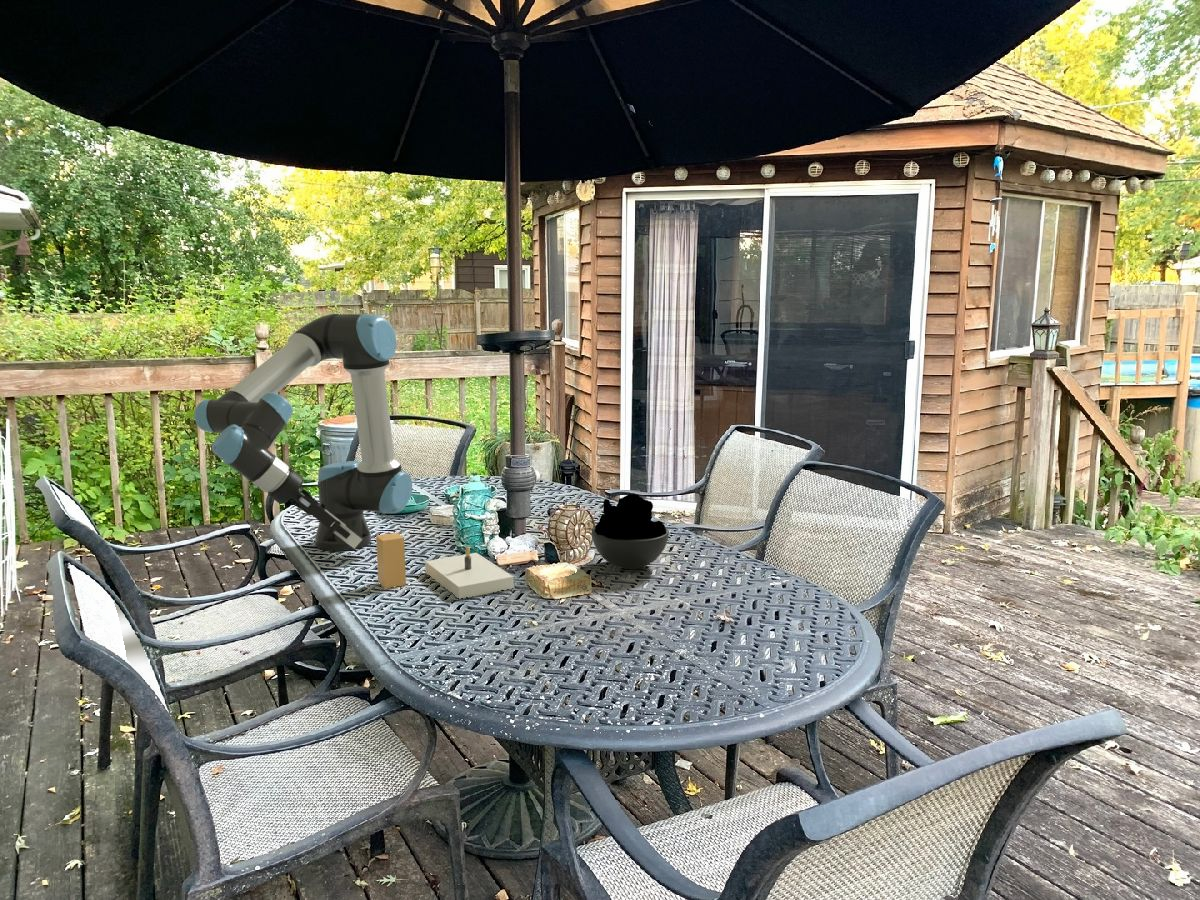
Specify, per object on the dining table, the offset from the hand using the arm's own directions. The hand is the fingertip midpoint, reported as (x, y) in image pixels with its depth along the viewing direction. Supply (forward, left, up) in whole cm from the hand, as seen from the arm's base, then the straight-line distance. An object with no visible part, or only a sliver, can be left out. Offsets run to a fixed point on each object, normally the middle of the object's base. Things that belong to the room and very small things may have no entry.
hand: (349, 536), depth 193 cm
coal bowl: (+19, +67, -14) cm, 71 cm away
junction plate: (+7, +27, -14) cm, 31 cm away
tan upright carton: (0, +10, -14) cm, 17 cm away
